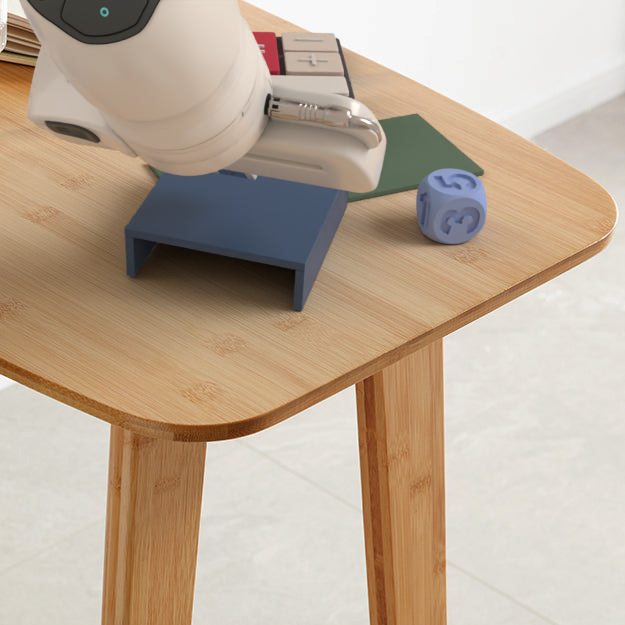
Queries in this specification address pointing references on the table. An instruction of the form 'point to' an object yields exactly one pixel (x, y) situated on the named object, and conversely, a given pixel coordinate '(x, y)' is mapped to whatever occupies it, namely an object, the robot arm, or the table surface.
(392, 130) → the mat
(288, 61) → the calculator
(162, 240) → the dustpan
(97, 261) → the table surface
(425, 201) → the decorative dice
